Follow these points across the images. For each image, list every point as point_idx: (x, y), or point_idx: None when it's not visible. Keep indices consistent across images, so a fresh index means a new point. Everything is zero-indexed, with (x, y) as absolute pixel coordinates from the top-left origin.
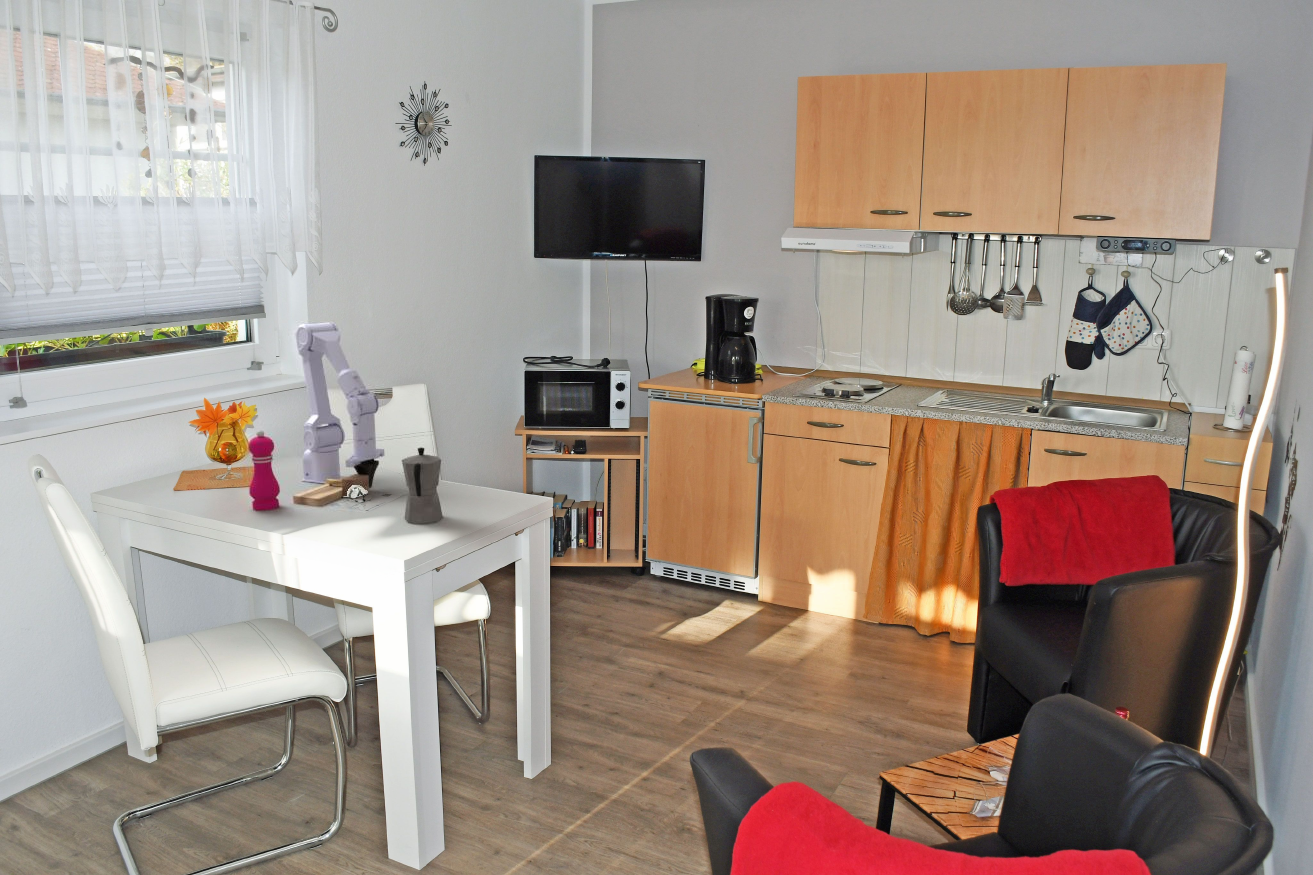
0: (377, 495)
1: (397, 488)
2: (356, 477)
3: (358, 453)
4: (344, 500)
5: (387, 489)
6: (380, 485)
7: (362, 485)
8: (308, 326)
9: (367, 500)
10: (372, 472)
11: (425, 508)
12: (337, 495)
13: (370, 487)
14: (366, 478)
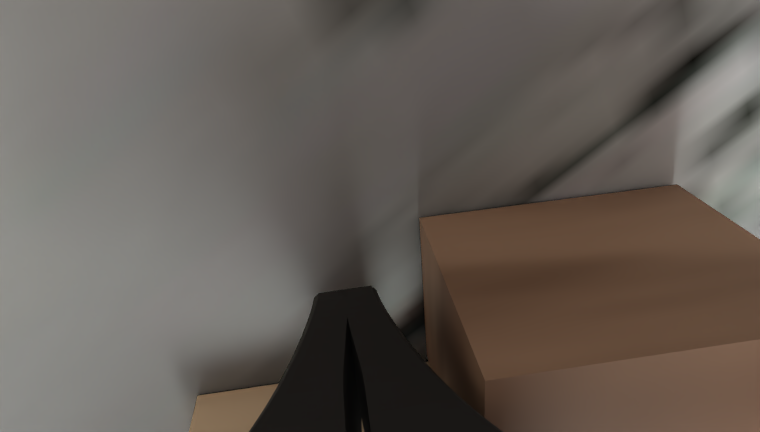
0: (443, 76)
1: (9, 79)
2: (686, 416)
3: None
4: None
5: (145, 164)
6: (71, 347)
7: (602, 269)
8: None
9: (689, 25)
10: (342, 423)
11: None
12: None
13: (338, 292)
14: (531, 337)
